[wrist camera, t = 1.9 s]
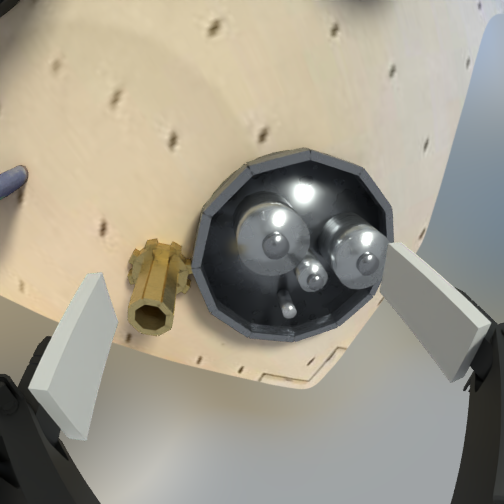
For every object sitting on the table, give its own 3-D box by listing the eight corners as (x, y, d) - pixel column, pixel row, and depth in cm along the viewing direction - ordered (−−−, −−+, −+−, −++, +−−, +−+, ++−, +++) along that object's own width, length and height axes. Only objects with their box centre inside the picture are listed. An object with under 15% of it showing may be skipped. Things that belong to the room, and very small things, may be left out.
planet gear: (128, 289, 36) (112, 339, 28) (133, 234, 33) (112, 276, 25) (187, 299, 38) (184, 351, 30) (197, 245, 35) (196, 291, 27)
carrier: (180, 313, 39) (178, 356, 32) (221, 124, 29) (226, 129, 22) (340, 331, 45) (360, 367, 38) (405, 183, 35) (444, 203, 28)
